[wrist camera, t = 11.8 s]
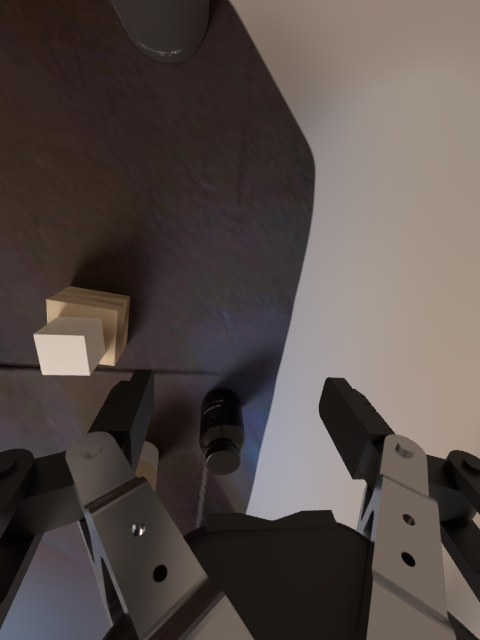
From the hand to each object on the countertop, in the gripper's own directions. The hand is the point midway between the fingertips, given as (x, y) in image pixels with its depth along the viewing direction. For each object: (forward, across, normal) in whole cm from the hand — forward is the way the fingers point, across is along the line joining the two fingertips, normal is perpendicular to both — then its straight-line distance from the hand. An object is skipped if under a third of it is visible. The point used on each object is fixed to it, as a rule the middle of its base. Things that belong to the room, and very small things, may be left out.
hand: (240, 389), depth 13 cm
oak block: (+28, +17, +9) cm, 34 cm away
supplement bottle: (+28, -2, +24) cm, 37 cm away
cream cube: (+22, +17, +9) cm, 29 cm away
